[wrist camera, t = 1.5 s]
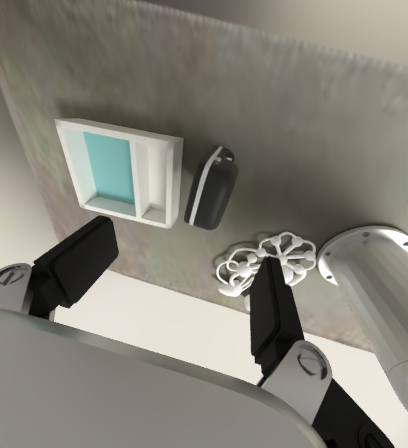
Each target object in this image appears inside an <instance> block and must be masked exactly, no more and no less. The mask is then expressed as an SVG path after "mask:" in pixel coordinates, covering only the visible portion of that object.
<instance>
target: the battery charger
mask: <svg viewBox="0 0 408 448" xmlns="http://www.w3.org/2000/svg"><path fill="white" fill-rule="evenodd" d="M237 173H238V171H237V166H236V164H235V163H234V155H233V153H232V152H231V151H229V150H227V149H225V148H223V147H221V146H220V147H219V146H215V147H214V148H213V149H212V151H210V152H209V153H208V154H207V155H206V156H205V157H204V158H203V159H202V161H201V162H200V163H199V165H198V167H197V169H196V172H195V175H194V178H193V182H192V186H191V190H190V194H189V199H188V203H187V207H186V212H185V216H184V221H185V222H186V223H188V224H189V225H192V226H193V225H194V226H197V227H200V228H203V229H206V230H213V229H215V228H216V227H217V226H218V225H219V223H220V221H221V219H222V216H223V213H224V211H225V208H226V206H227V203H228V201H229V198H230V195H231V193H232V190H233V188H234V185H235V181H236V178H237Z"/></svg>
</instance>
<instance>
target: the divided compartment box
mask: <svg viewBox="0 0 408 448" xmlns="http://www.w3.org/2000/svg"><path fill="white" fill-rule="evenodd" d="M54 121H55V124H56V128H57V131H58V134H59V138H60V141H61V144H62V148H63V151H64V154H65V157H66V161H67V164H68V167H69V171H70V174H71V177H72V181H73V184H74V187H75V191H76V194H77V197H78V200H79V204H80V207H81V208H84V209H88V210H93V211H97V212H101V213H105V214H109V215H113V216H117V217H122V218H126V219H130V220H134V221H138V222H142V223H146V224H150V225H155V226H159V227H163V228H167V229H171V228H172V226H173V224H174V223H175V221H176V220H177V218H178V215H179V200H180V185H181V171H182V156H183V141H184V138H180V137H174V136H169V135H164V134H159V133H154V132H148V131H143V130H138V129H133V128H128V127H122V126H117V125H112V124H107V123H102V122H96V121H91V120H86V119H81V118H68V119H54Z"/></svg>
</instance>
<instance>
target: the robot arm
mask: <svg viewBox="0 0 408 448" xmlns="http://www.w3.org/2000/svg"><path fill="white" fill-rule="evenodd" d="M118 253H119V251H118V246H117V241H116V236H115V231H114V225H113V221H111V219H110V218H109V217H105V216H101V215H100V216H97V217H96V218H94V219H93V220H91V221H90V222H89V223H87V224H86V225H84V226H83V227H82V228H80V229H79V230H77V231H76V232H75V233H73V234H72V235H70V236H69V237H67V238H66V239H65V240H63V241H62V242H60V243H59V244H58V245H56V246H55V247H53V248H52V249H50V250H49V251H48V252H46V253H45V254H43V255H42V256H41V257H39V258H38V259H37V260H35V261H34V264H35V265H34V266H32V267H31V266H30V265H29V264H26V263H18V264H12V265H9V266H6V267H4V268H2V269H0V448H395V447H394V445H393V444H392V443H391V441H390V440H389V439H388V438H387V437H386V435H385V434H384V433H383V432H382V431H381V430H380V429H379V427H377V425H376V424H375V423H374V422H373V421H372V420H371V419H370V418H369V417H368V416H367V414H365V412H364V411H363V410H362V409H361V408H360V407H359V406H358V405H357V404H356V403H355V402H354V400H353V399H352V398H351V397H350V396H349V395H348V394H347V393H346V392H345V391H344V390H343V389H342V387H341V386H340V385H339V384H338V383H337V382H336V381H335V380H334V379H333V378H332V370H331V366H330V364H329V361H328V360H327V358H326V356H325V355H324V353H323V352H322V351H321V350H320V349H319V348H318V347H316V346H315V345H314V344H312V343H310V342H308V341H305V339H304V335H303V331H302V327H301V324H300V320H299V316H298V312H297V308H296V305H295V301H294V297H293V293H292V289H291V287H290V285H288V284H286V283H285V279H284V275H283V270H282V266H281V262H280V259H279V258H276V257H272V256H268V257H267V258H265V257H264V259H263V261H262V263H261V265H260V267H259V269H258V271H257V273H256V275H255V277H254V280H253V282H252V284H251V286H250V292H249V293H250V331H251V354H252V355H253V356H255V363H257V364H260V365H261V368H262V374H263V376H262V377H261V379H260V380H259V381H258V383H257V384H256V385H253V384H251V383H248V382H246V381H243V380H240V379H238V378H235V377H232V376H229V375H225V374H223V373H220V372H216V371H213V370H210V369H208V368H204V367H201V366H198V365H195V364H191V363H188V362H185V361H182V360H178V359H175V358H172V357H169V356H166V355H162V354H159V353H155V352H153V351H149V350H146V349H143V348H139V347H136V346H133V345H130V344H126V343H123V342H120V341H116V340H113V339H110V338H106V337H103V336H100V335H97V334H93V333H90V332H86V331H83V330H80V329H76V328H73V327H70V326H66V325H63V324H59V323H56V322H54V315H55V308H56V307H57V306H58V305H60V306H62V307H65V308H70V307H71V306H72V305H73V304H74V303H76V302H78V301H79V300H80V298H81V297H82V296H83V295H84V294H85V293H86V292H87V291H88V289H89V288H90V287H91V286H92V285H93V284H94V283H95V281H96V280H97V279H98V278H99V277H100V276H101V275H102V274H103V272H104V271H105V270H106V269H107V268H108V267H109V266H110V265H111V263H112V262H113V261H114V260H115V259H116V258H117V256H118ZM316 262H317V267H318V270H319V272H320V274H321V275H322V276H323V277H324V278H325V279H326V280H327V281H329V282H331V283H333V284H335V285H338V286H339V288H340V290H341V292H342V294H343V295H344V297H345V299H346V301H347V303H348V305H349V307H350V308H351V310H352V312H353V314H354V316H355V318H356V320H357V322H358V323H359V325H360V327H361V329H362V331H363V333H364V335H365V337H366V338H367V340H368V342H369V344H370V346H371V348H372V350H373V351H374V353H375V355H376V357H377V359H378V361H379V363H380V365H381V366H382V368H383V370H384V372H385V374H386V376H387V377H388V380H389V381H390V383H391V385H392V387H393V389H394V391H395V393H396V394H397V396H398V398H399V400H400V401H401V403H402V404H403V406H404V407H405V408H406V410H407V411H408V235H407V234H405V233H404V232H402V231H400V230H398V229H395V228H391V227H387V226H364V227H359V228H354V229H351V230H348V231H345V232H343V233H341V234H339V235H337V236H335V237H334V238H332V239H331V240H329V241H328V242H327V243H326V244H325V245H324V246H323V247H322V248H321V250H320V251H319V253H318V255H317V260H316Z"/></svg>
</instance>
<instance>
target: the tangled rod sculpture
mask: <svg viewBox="0 0 408 448" xmlns="http://www.w3.org/2000/svg"><path fill="white" fill-rule="evenodd" d="M285 234H288V235H291V236H292V237H293V238H292V240H291V242H292V245H291V246H290V247H288V248H287V249H286V250H285V251H284V252H282V253H281V250H280V247H279V245H280V244H281V238H280V237H281V236H283V235H285ZM268 240H271V243H272V244H273V245H274V246H275V247H276V250H277V253H278V254H276V255H275V256H274V255H271V254H269V253H267V252H266V251H265V249H264V248H261V245H262V243H263V242H265V241H268ZM303 243H308V244H310V245H312V246H313V251H310V250H309V251H306V252H305V253H304V255H289V256H286V254H287V253H289V252H290V251H291V250H292V249H294V248H295V247H296V246H297V247H298V246H301V245H302V244H303ZM240 250H248V251H253V252H256V255H257V256H258V257H264V256H272V257H276V258H279V259H280V262H281V266H282V270H283V275H284V279H285V283H286V284H288V285H290V286H293V285H295V284H296V283H298V282H299V281H300V280H302V279H303V278H305V276H306V270H310V269H312V268H313V267H315V265H316V259H315V258H316V255H315V252H316V246H315V244H314V243H312V242H310V241H307V240H302V238H301V237H299V236H295V235H294V234H293V233H291V232H283V233H281V234H280V235H279V236H273V237H272V238H266V239H263V240H262V241H261V242H260V243H259V248H258V249H257V250H256V249H252V248H238V249H236V250H234V251H233V252H232V254H231V255H230V257H229V258H228V260H226V261H223V262H221V263H220V264H219V265H218V266H217V269H216V274H217V277H218V279H219V280H221V281H222V282H223V283H225V284H220V285H219V286H218V290H219V291H220V292H221V293H223V294H225V295H228V296H238V295H240V293H241V292H242V291H244V290H245V289H247V288H248V287H249V286H250V285H251V284H252V282H253V280H254V277H251V279H250V280H249V281H247V282H246V283H245V284H244V285H241V284H243V283H244V282H245V281H246V279H247V278H248V277H249V276H250V275H251V273H257V271H258V270H253V269H257V268H259V267H260V265H261V264H260V265H256V266H251V265H250V263H254V262H256V261H257V256H256V255H255V254H252V253H251V254H249V255H248V257H247V259H248V262H246V261H242V262H240V263H238V262H236V261H234V260H231V258H232V257H233V255H234V254H235V253H236V252H237V251H240ZM296 258H305V259H306V260H308V261H312V260H313V265H312V266H310V267H307V268H304V267H303V266H302V265H300V264H295V265H292V264H289V263H287V260H288V259H296ZM229 262H232V263H235V264H236V265H237V267H236V269H232V268H230V267H229ZM225 263H227V264H226V267H227V269H229V270H230V271H237V272H236V273H234V274H233V275H232V276H231V277H230V282H226V281H224V280H223V279H221V277H220V276H219V273H218V270H219V267H220V266H221V265H223V264H225ZM291 268H292V269H293V270H294V272H295V273H297V274H301V275H300V276H299V277H297V278H295V279H294V280H293V281H291V280H292V278H293V270H292V269H291ZM238 275H240V276H241V277H245V279H244V280H243V281H242V282H241V283H240V282H239V281H238V280H233V279H234V278H235V277H236V276H238ZM251 280H252V281H251ZM290 281H291V282H290ZM249 282H251V283H249ZM248 283H249V284H248ZM247 284H248V285H247ZM246 285H247V286H246ZM244 286H246V287H245V288H243V287H244ZM242 288H243V289H242ZM244 304H245V307H246V309H247V310H248V311H250V294H248V295H247V296H246V297H245V300H244Z"/></svg>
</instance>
